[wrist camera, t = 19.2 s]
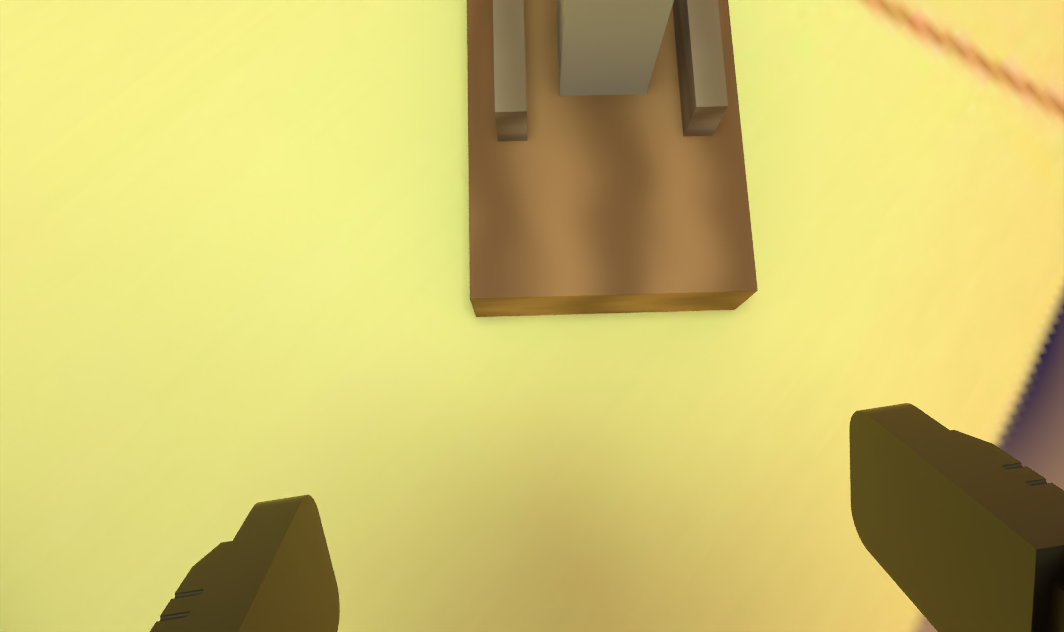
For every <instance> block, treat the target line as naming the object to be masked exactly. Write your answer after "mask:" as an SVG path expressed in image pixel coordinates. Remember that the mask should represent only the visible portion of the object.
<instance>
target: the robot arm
mask: <svg viewBox="0 0 1064 632" xmlns="http://www.w3.org/2000/svg"><path fill="white" fill-rule="evenodd" d="M850 481H851V510H852V516H853V520H854V524H855V527H856V530H857V532H858V535H859V537H860V539H861V541H862V543H863V544H864V546H865V547H866V549H867V550H868V551H869V552H870V554H871V555H872V556H873V557H874V558H875V559H876V560H877V562H878V563H879V564H880V565H881V566H882V567H883V569H884V570H885V571H886V572H887V573H888V574H889V576H890V577H891V578H892V579H893V580H894V581H895V582H896V584H897V585H898V586H899V587H900V588H901V589H902V591H903V592H904V593H905V594H906V595H907V596H908V597H909V599H910V600H911V601H912V602H913V603H914V604H915V606H916V607H917V608H918V609H919V610H920V611H921V613H922V614H923V615H924V616H925V617H926V618H927V619H928V621H929V622H930V623H931V624H932V625H933V626H934V628H935V629H936V630H937V631H938V632H1064V491H1063V490H1062V489H1061V488H1059V487H1057V486H1056V485H1054V484H1053V483H1047V482H1046V479H1045V478H1044V477H1042V476H1041V475H1039V474H1038V473H1036V472H1035V471H1033V470H1032V469H1030V468H1029V467H1022V465H1021V462H1019V461H1018V460H1016V459H1015V458H1013V457H1012V456H1010V455H1009V454H1007V453H1006V452H1004V451H1003V450H1001V449H1000V448H998V447H997V446H995V445H994V444H992V443H989V442H986V441H983V440H981V439H978V438H975V437H972V436H969V435H967V434H964V433H961V432H958V431H956V430H949V429H947V428H946V427H944V426H943V425H941V424H940V423H938V422H937V421H936V420H934V419H933V418H931V417H930V416H928V415H927V414H925V413H924V412H922V411H921V410H920V409H918V408H917V407H915V406H914V405H912V404H908V403H905V404H899V405H892V406H886V407H879V408H873V409H866V410H860V411H856V412H855V413H854V414H853V415H852V417H851V421H850ZM339 612H340V610H339V593H338V587H337V583H336V579H335V575H334V571H333V567H332V563H331V559H330V555H329V551H328V547H327V543H326V539H325V535H324V531H323V527H322V524H321V520H320V516H319V512H318V508H317V506H316V503H315V501H314V499H313V498H312V497H311V496H310V495H304V496H297V497H291V498H284V499H278V500H272V501H265V502H259V503H256V504H255V505H254V507H253V508H252V510H251V511H250V513H249V515H248V516H247V518H246V520H245V521H244V523H243V525H242V526H241V528H240V530H239V531H238V533H237V535H236V536H235V538H234V540H233V541H229V542H223V543H220V544H219V545H218V546H217V547H216V548H214V549H213V550H212V551H211V552H210V553H208V554H207V555H206V556H205V557H204V558H203V559H201V560H200V561H199V562H198V563H197V564H195V565H194V566H193V567H192V568H191V570H190V571H189V573H188V574H187V576H186V577H185V579H184V580H183V582H182V583H181V585H180V586H179V588H178V590H177V591H176V593H175V598H174V599H171V600H170V602H169V603H168V605H167V606H166V608H165V609H164V611H163V612H162V614H161V615H160V621H158V622H156V623H155V625H154V626H153V628H152V629H151V631H150V632H337V630H338V625H339Z"/></svg>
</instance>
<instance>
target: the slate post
mask: <svg viewBox="0 0 1064 632" xmlns="http://www.w3.org/2000/svg"><path fill="white" fill-rule="evenodd" d="M673 2H674V0H558V9H557V38H558V72H559V96H583V95H645V94H646V92H647V89H648V85H649V82H650V79H651V75H652V72H653V69H654V65H655V62H656V59H657V55H658V52H659V48H660V45H661V42H662V38H663V35H664V32H665V28H666V25H667V22H668V18H669V15H670V12H671V8H672V5H673Z"/></svg>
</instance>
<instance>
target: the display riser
mask: <svg viewBox="0 0 1064 632" xmlns="http://www.w3.org/2000/svg"><path fill="white" fill-rule="evenodd" d="M557 9H558V0H467V44H468V143H469V241H470V300H471V303H472V306H473V309H474V312H475V315H476V317H485V316H521V315H556V314H592V313H628V312H664V311H699V310H735V309H736V308H737V307H738V306H740V305H741V304H742V303H743V302H744V301H746V300H747V299H748V298H749V297H750V296H752V295H753V294H754V293H755V292H756V291H758V290H757V281H756V271H755V261H754V251H753V241H752V232H751V222H750V212H749V202H748V192H747V183H746V173H745V163H744V153H743V143H742V133H741V124H740V114H739V104H738V94H737V84H736V75H735V65H734V55H733V45H732V35H731V26H730V16H729V6H728V0H674V2H673V5H672V8H671V12H670V15H669V18H668V22H667V25H666V28H665V32H664V35H663V38H662V42H661V45H660V48H659V52H658V55H657V59H656V62H655V65H654V69H653V72H652V75H651V79H650V82H649V85H648V89H647V92H646V94H645V95H583V96H559V72H558V38H557Z"/></svg>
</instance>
